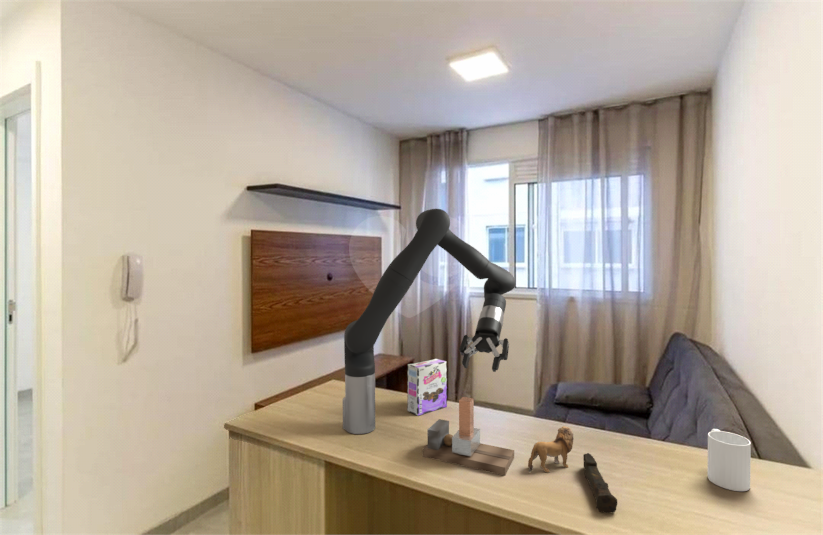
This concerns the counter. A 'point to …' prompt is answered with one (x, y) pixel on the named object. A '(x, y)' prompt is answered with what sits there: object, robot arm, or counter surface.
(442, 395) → the candy box
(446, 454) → the press base
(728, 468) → the mug
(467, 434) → the block
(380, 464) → the counter surface
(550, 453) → the lion figurine
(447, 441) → the hazelnut
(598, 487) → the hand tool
